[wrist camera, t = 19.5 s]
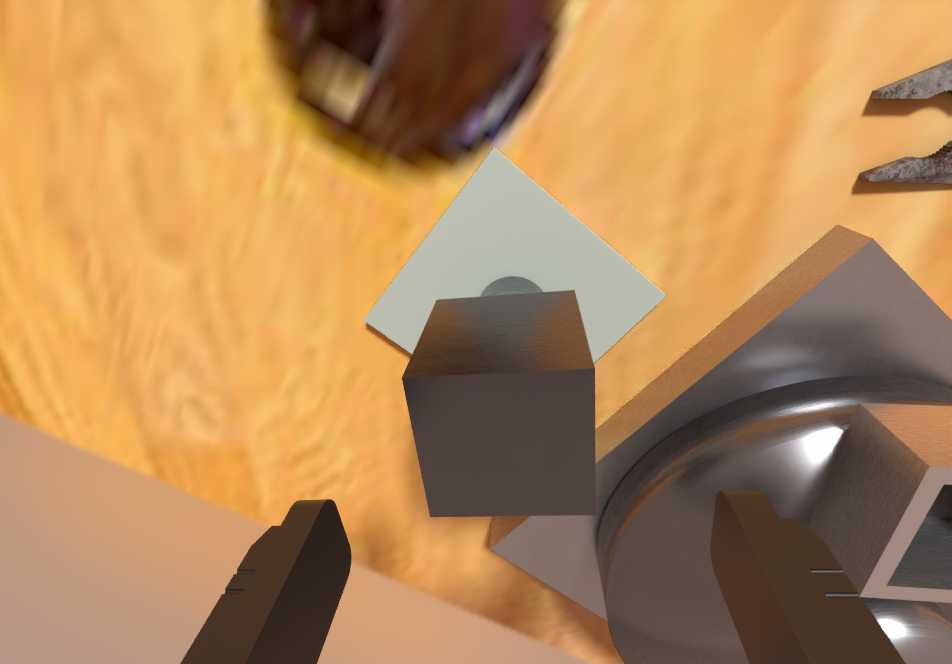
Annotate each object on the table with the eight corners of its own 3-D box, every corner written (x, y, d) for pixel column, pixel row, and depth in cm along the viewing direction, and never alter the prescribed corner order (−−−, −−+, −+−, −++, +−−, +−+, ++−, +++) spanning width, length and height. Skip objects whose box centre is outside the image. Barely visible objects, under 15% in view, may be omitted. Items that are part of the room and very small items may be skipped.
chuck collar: (626, 351, 19) (710, 543, 11) (1157, 369, 18) (1705, 603, 9) (579, 653, 28) (605, 884, 19) (931, 680, 26) (1115, 939, 18)
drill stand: (837, 224, 18) (872, 238, 17) (1109, 501, 23) (1159, 535, 21) (491, 518, 26) (489, 549, 25) (743, 678, 31) (757, 714, 29)
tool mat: (494, 146, 18) (493, 148, 17) (662, 290, 20) (666, 296, 19) (367, 314, 21) (363, 320, 21) (520, 422, 23) (521, 430, 23)
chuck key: (452, 262, 20) (402, 377, 11) (565, 253, 19) (594, 368, 11) (466, 359, 21) (430, 516, 13) (568, 354, 21) (595, 515, 13)
